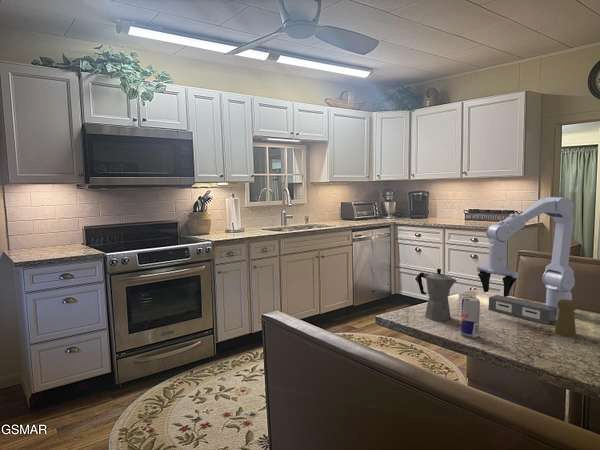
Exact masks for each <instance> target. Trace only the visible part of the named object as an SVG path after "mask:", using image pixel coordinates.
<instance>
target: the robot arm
mask: <svg viewBox="0 0 600 450" xmlns="http://www.w3.org/2000/svg"><path fill="white" fill-rule="evenodd" d="M574 205H575V203H574V202H573V201H572V200H571V198H569V197H566V196H562V197H560V196H558V197H557V196H556V197H555V196H544V197H542V198H539V199H538V200H537V201H536V202H535V203H534V204H533V205H531V206H530V207H528V208H527V209H525V210H524V211H522V212H521V213H510V214H509V215H508V217H506V218H505V219H503V220H499V221H498V223H497V224H496V223H495V224H491V225H490V226H489V227H488V228H487V231H486V232H485V234H486V237H487V238H488V243H489V245H488V247H489V251H488V266H482V265H479V266H477V267H476V272H477V276H478V278H479V280H480V283H481V286H482V289H483V293H488V292H490V291H489V290H490V279H491V275H492V274H493V275H498V276H503V277H502V282H503V296H505V297H509V296H510V295H509V294H510V292H511V289H512V287H513V285H514V284H515V282H516V280H517V279H518V278H519V272H518V271H513V270H510V269H507V268H506V267H507V246H508V241H509V240H510V239H511V236H512V235H513V234H514V233H516V232H518V231H519V230H522V229H523V228H524V227H526V223H527V222H528V221H531V220H533V219H534V218H536V217H538V216H540V215H542V214H545V215H547V216H548V217H550V218H551V219H552V220H553V221H554V222H555V227H554V228H555V229H554V235H553V236H554V237H553V244H552V245H553V246H552V252H551V253H552V254H551V262H550V263H549V264H547V265H546V266H545V271H544V273H543V274H542V276H541V277H542V279H541V280H542V283H543V284H544V285H545V288H546V296H545V305H547V306H552V307H557V316H558V312H559V308H558V306H557V303H558V301H559V300H561V299H567V300H572V301H573V294H572V289H574V286H575V284H576V283H575V282H576V281H575V276H574V274H575V271H574V270H573V268H572V267H571V266H570V265H569V261H570V253H571V244H572V236H573V228H574V217H575V216H574Z"/></svg>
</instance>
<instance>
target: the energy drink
mask: <svg viewBox="0 0 600 450" xmlns="http://www.w3.org/2000/svg"><path fill="white" fill-rule="evenodd" d="M480 309H481V301H480V298H477V297H474V296H473V297H472V296H465V297H462V299H461V315H460V316H461V318H460V320H461V321H460V335H461V336H462V337H464V338H468V339H477V338H478V337H479V335H480Z"/></svg>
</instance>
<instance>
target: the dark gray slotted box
mask: <svg viewBox="0 0 600 450" xmlns="http://www.w3.org/2000/svg"><path fill="white" fill-rule="evenodd" d="M488 311H491V312H495V313H496V312H497V313H500V314H505V315H509V316H512V317H517V318H520V319H525V320H529V321H532V322H537V323H540V324H545V325H551V324H553V323H556V321H557V317H558V315H557V307H552V306H547V305H546V304H542V303H538V302H532V301H527V300H524V299H519V298H515V297H509V296H507V297H505V296H504V295H499V294H496V295H491V296H488Z"/></svg>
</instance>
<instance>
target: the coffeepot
mask: <svg viewBox="0 0 600 450" xmlns="http://www.w3.org/2000/svg"><path fill="white" fill-rule="evenodd" d="M436 272H437V273H426V272H419V273H418V275H417V276H416V279H417V283H418V287H419V291H420V294H421V295H424V296H425V295H427V294H428V300H427V304H426V309H425V314H424V315H425V318H427V319H428V320H432V321H440V322H443V321H444V322H445V321H449V320H450V319H451V311H450V303H449V295H450V291H451V289H452V287H453V286H454V284H455V283H457V279H455V278H453V277H452V276H450V275H447V274H443V273H442V268H436ZM422 278H424V279H425V280H426V286H427V287H426V288H427V289H426V290H427V292H426V291H424V285H423V280H422Z"/></svg>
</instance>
